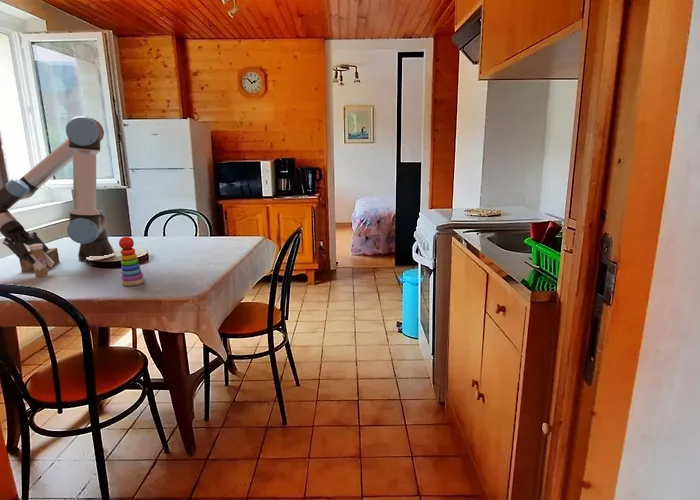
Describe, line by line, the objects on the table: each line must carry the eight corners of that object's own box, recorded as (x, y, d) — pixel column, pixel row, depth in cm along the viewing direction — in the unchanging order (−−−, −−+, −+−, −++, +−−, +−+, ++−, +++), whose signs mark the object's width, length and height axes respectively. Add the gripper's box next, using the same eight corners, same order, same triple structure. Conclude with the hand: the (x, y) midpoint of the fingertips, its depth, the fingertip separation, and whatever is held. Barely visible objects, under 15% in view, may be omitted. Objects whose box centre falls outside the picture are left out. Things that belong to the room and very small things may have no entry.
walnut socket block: (59, 262, 204) (57, 247, 202) (50, 268, 193) (47, 253, 192) (32, 264, 201) (29, 249, 199) (21, 271, 191) (18, 255, 189)
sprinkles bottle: (40, 277, 181) (34, 245, 178) (32, 276, 182) (26, 245, 179) (50, 274, 185) (45, 243, 182) (42, 273, 186) (36, 242, 183)
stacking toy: (126, 280, 175) (120, 234, 170) (147, 279, 176) (141, 233, 171) (118, 287, 167) (111, 239, 163) (140, 286, 168) (133, 238, 163)
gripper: (25, 228, 191) (61, 266, 191) (-17, 236, 175) (23, 278, 175) (32, 216, 189) (69, 255, 188) (-10, 223, 173) (30, 266, 172)
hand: (46, 266), depth 182 cm, fingers closed on sprinkles bottle, 4 cm apart
